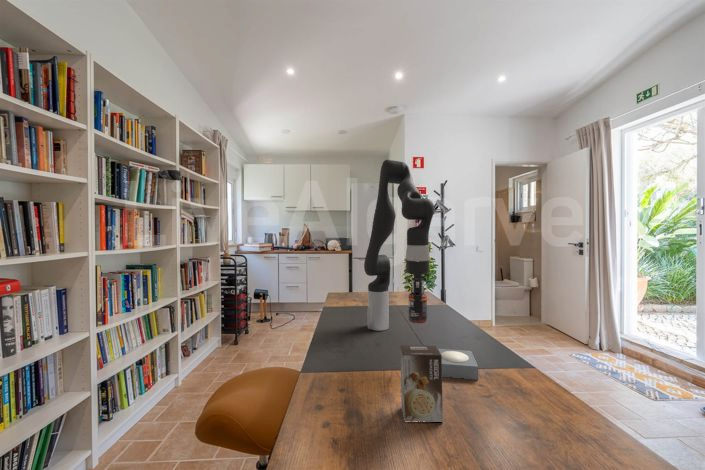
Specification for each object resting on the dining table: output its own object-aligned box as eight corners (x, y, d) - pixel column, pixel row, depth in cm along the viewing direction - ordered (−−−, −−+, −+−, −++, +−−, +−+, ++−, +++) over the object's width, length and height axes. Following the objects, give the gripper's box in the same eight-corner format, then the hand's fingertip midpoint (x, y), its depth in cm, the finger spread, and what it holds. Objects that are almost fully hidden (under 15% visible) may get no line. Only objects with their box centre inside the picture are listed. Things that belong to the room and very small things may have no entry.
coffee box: (437, 408, 78) (437, 344, 78) (443, 424, 72) (443, 355, 71) (400, 407, 78) (400, 344, 78) (403, 423, 72) (403, 354, 72)
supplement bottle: (427, 319, 105) (427, 286, 105) (425, 324, 99) (425, 289, 99) (410, 318, 107) (410, 285, 107) (407, 323, 101) (407, 288, 101)
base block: (436, 376, 94) (436, 362, 94) (434, 359, 106) (434, 347, 106) (478, 379, 92) (478, 365, 92) (471, 362, 104) (471, 350, 104)
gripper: (406, 256, 110) (407, 303, 111) (405, 260, 96) (405, 314, 97) (428, 256, 109) (428, 304, 109) (430, 261, 95) (430, 315, 95)
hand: (417, 308), depth 103 cm, fingers closed on supplement bottle, 6 cm apart
